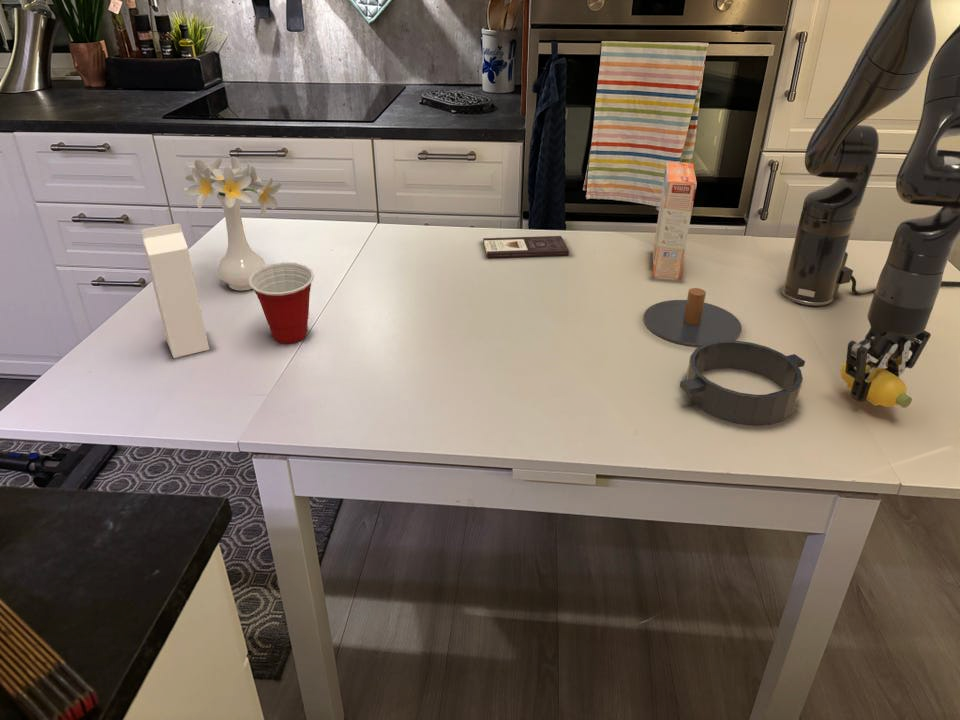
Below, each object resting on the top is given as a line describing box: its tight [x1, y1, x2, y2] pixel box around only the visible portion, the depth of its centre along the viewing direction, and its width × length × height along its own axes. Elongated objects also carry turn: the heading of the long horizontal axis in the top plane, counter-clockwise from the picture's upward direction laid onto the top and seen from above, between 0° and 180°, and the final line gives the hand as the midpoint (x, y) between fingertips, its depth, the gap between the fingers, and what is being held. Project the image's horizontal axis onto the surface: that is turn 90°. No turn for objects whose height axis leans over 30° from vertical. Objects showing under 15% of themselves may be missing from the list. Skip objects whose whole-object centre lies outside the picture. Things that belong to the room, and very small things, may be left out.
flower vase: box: [185, 156, 283, 292], centre depth 143 cm, size 13×18×25 cm
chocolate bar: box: [482, 235, 570, 259], centre depth 166 cm, size 9×1×18 cm
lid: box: [643, 287, 743, 348], centre depth 134 cm, size 17×17×7 cm
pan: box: [679, 340, 806, 426], centre depth 115 cm, size 16×22×6 cm
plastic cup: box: [249, 261, 315, 345], centre depth 128 cm, size 11×11×12 cm
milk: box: [140, 223, 210, 359], centre depth 122 cm, size 6×6×22 cm
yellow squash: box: [840, 360, 913, 409], centre depth 111 cm, size 11×5×5 cm, turn 22°
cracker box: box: [652, 161, 698, 280], centre depth 153 cm, size 14×6×21 cm, turn 168°
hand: (871, 395), depth 112 cm, fingers closed on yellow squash, 5 cm apart
